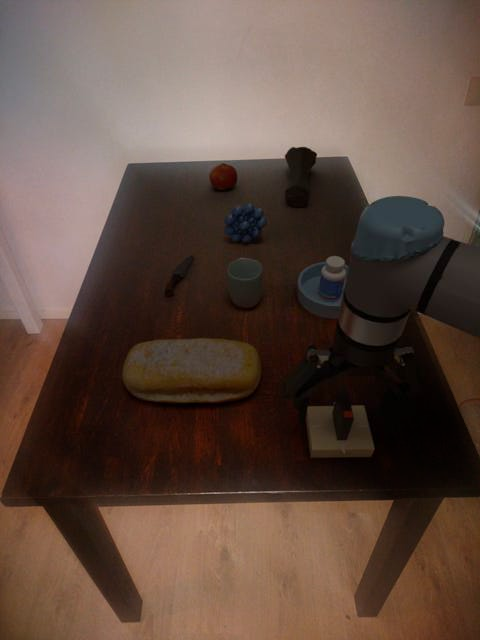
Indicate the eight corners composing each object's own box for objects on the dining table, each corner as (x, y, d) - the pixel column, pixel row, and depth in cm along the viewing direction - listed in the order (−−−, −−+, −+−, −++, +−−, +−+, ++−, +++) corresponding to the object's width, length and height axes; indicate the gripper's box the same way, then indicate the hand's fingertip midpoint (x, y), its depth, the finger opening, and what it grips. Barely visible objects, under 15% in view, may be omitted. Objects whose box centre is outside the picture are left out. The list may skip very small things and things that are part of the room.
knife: (170, 293, 91) (153, 282, 92) (169, 299, 93) (152, 288, 93) (207, 260, 102) (191, 250, 103) (205, 266, 104) (190, 256, 104)
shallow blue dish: (374, 289, 91) (377, 276, 89) (344, 329, 83) (347, 316, 80) (317, 267, 98) (319, 254, 95) (284, 301, 90) (285, 288, 87)
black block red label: (332, 413, 66) (337, 389, 61) (341, 413, 66) (348, 389, 61) (336, 440, 62) (343, 418, 57) (346, 440, 62) (354, 418, 57)
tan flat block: (360, 411, 69) (363, 401, 67) (372, 460, 63) (376, 452, 61) (304, 412, 70) (306, 402, 67) (310, 461, 63) (312, 453, 61)
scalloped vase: (293, 172, 140) (290, 221, 123) (280, 148, 133) (275, 197, 116) (321, 159, 134) (322, 209, 118) (309, 133, 128) (308, 182, 111)
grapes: (267, 234, 110) (267, 195, 101) (266, 248, 105) (266, 208, 96) (227, 233, 111) (224, 195, 102) (224, 247, 106) (220, 208, 97)
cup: (257, 316, 87) (256, 282, 80) (225, 309, 89) (221, 276, 82) (266, 294, 92) (267, 260, 85) (236, 288, 94) (234, 255, 87)
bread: (262, 408, 71) (262, 383, 65) (120, 412, 71) (108, 387, 66) (259, 351, 80) (259, 325, 74) (134, 355, 81) (124, 330, 75)
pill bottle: (340, 303, 88) (347, 270, 81) (317, 300, 89) (321, 267, 82) (342, 288, 92) (348, 255, 85) (319, 285, 93) (323, 252, 86)
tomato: (205, 189, 130) (202, 166, 124) (222, 178, 135) (220, 155, 129) (226, 196, 126) (224, 173, 120) (243, 185, 130) (242, 162, 125)
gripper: (460, 300, 48) (412, 394, 64) (266, 305, 49) (265, 396, 65) (486, 346, 43) (427, 436, 59) (268, 351, 44) (267, 438, 59)
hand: (342, 415), depth 62 cm, fingers open, 12 cm apart
